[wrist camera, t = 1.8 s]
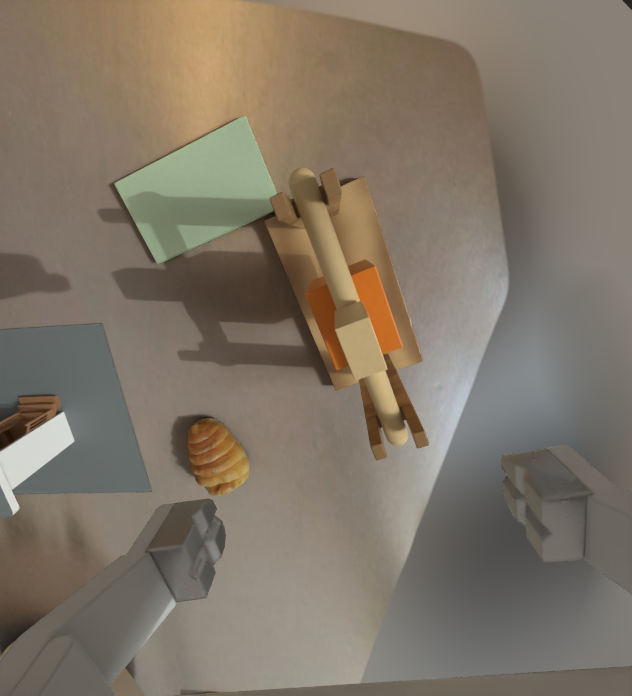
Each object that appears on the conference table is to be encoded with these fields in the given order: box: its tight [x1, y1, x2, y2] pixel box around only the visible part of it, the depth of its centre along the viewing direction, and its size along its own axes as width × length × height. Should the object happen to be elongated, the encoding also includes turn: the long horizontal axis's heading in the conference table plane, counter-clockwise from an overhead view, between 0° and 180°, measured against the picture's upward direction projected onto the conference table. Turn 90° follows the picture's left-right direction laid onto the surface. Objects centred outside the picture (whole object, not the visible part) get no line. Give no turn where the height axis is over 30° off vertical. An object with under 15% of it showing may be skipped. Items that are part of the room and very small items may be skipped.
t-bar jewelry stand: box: [289, 168, 408, 446], centre depth 22 cm, size 5×20×13 cm, turn 22°
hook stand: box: [264, 168, 429, 460], centre depth 26 cm, size 10×19×16 cm, turn 22°
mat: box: [114, 115, 277, 264], centre depth 30 cm, size 14×8×1 cm, turn 112°
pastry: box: [187, 418, 250, 496], centre depth 38 cm, size 9×7×4 cm
